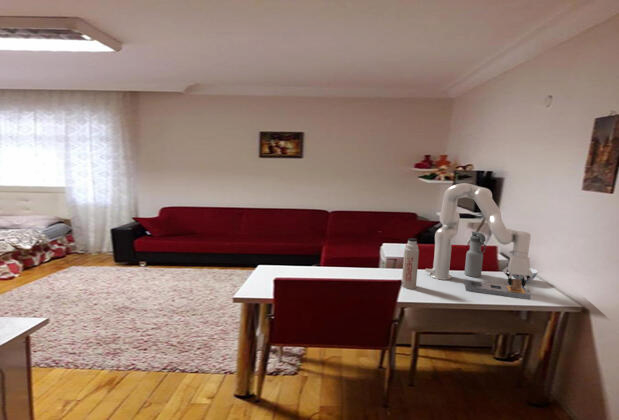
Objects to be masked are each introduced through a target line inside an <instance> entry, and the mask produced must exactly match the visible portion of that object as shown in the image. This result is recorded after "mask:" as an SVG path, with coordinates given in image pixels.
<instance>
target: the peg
mask: <svg viewBox="0 0 619 420" xmlns="http://www.w3.org/2000/svg"><path fill="white" fill-rule="evenodd" d="M521 283H522V282H521V280H520V279H515V278H512V283H511V290H514V291H521V287H522V286H521Z"/></svg>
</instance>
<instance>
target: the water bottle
mask: <svg viewBox="0 0 619 420" xmlns="http://www.w3.org/2000/svg"><path fill="white" fill-rule="evenodd" d="M469 241H470V242H469V243H470V245H469V250H467V251H466V254H465V265H464V275H466V276H467V277H470V278H480V277H481V276H482V270H483V261H484V260H483V259H484V254H483V253H485V252H486V247H487V245H486V244H485V242H486V236H485V234H484V233H482V232H479V231H475V230H473V231H471V236H470V239H469ZM482 246H483V250H482Z"/></svg>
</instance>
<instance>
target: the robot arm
mask: <svg viewBox="0 0 619 420" xmlns="http://www.w3.org/2000/svg"><path fill="white" fill-rule="evenodd" d="M442 197H443V198H442V204H441V209H440V214H439V223H441V225H442V226H441V227H440V228H438V229H437V230H436V231H435V234H434V254H433V255H434V256H433V257H434V258H433V264H432V266H433V267H432V268H427V267H426V268H425V269H424V270H425V272H427V273H430V274H429V276H430V277H432V278H433V279H435V280H436V279H437V280H442V281H444V280H445V281H448V280H451V279H452V275H450V265H451V256H452V255H451V254H452V241H453V240H454V239H455V238H456V237H457V234H458V230H459V224H460V214H459V211H458V210H457V208H458V200H459V199H462V198H468V199H471V200H474V202H475V203H476V206H478V209H480V212H481V213H482V214H483V216H484V218H485V221H486V223H487V225H488V227H489V229H490V231H491V233H492V235H493V237H494V238H495V239H496V241H497V242H498V243H499V244H501V245H509V244H510V243H513V245H512V250H509V254H510V255H509V259H508V263H507V266H506V267H505V268H503V269H502V272H503V273H504V274H505V275H506V277H507V284H508V285H509V286H511V283H512V279H513V278H512V277H513V276H512V275H513V274H514V275H522V276H523V279H522V283H521V287H525V286H526V285H527V283H526V280H527V279H528V278H530V277H531V276H533V275H534V274H533V273H532V272H531V271H530V268H531V259H530V257H529V251H530V243H531V234H530V232H527V231H521V230H520V231H517V230H514V229H510V228H507V227H506V226H505V223H504V221H503V219H502V213H501V212H502V211H501V209H500V208H499V207H498V205H497V203H496V202H495V201H494V199H493V193H492V191H491V190H490V189H489V188H487V187H483V186H478V185H475V184H471V183H468V182H463V183H457V184H454V185H451V186H449V187H448V188H447V189H445V192H444V194H443V196H442ZM529 273H530V274H529Z"/></svg>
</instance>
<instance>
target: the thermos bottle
mask: <svg viewBox="0 0 619 420" xmlns="http://www.w3.org/2000/svg"><path fill="white" fill-rule="evenodd" d="M417 241H418V239H417V238H412V237H411V238H408V239H407V243H406V244H405V247H404V250H403V265H402V275H401V276H402V278H401V282H402V281H403V285H402V284H401V287H402V288H404V289H407V290H415V289H416V288H417V280H418V279H417V278H418V269H419V268H418V267H419V255H420V249H419V245H418V242H417Z"/></svg>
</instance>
